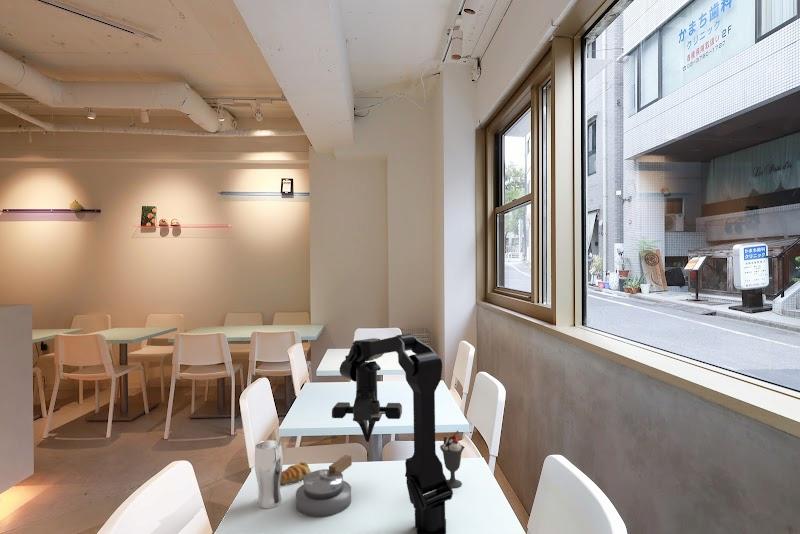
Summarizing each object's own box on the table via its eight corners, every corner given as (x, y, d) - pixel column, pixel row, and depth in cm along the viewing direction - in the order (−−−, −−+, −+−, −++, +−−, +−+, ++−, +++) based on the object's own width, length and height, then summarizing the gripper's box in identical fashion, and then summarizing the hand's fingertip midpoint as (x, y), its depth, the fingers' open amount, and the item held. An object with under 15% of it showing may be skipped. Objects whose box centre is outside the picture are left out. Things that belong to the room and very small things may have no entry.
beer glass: (249, 506, 119) (248, 447, 119) (269, 493, 125) (267, 437, 125) (270, 512, 116) (268, 451, 116) (289, 499, 122) (287, 441, 122)
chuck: (328, 502, 113) (328, 482, 113) (295, 494, 118) (295, 475, 118) (364, 473, 128) (363, 456, 128) (333, 467, 133) (333, 450, 133)
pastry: (284, 489, 128) (284, 475, 128) (272, 482, 133) (271, 468, 133) (313, 477, 135) (313, 464, 135) (300, 471, 139) (300, 458, 139)
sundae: (465, 490, 124) (463, 434, 124) (439, 489, 126) (438, 433, 125) (465, 479, 131) (464, 425, 131) (441, 477, 132) (440, 424, 132)
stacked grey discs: (356, 489, 126) (355, 478, 126) (344, 518, 112) (344, 505, 112) (305, 488, 128) (305, 477, 128) (288, 516, 114) (287, 503, 114)
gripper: (325, 392, 122) (327, 452, 122) (397, 393, 120) (398, 454, 120) (336, 381, 133) (337, 436, 133) (401, 382, 131) (402, 438, 131)
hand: (368, 441), depth 129 cm, fingers closed
